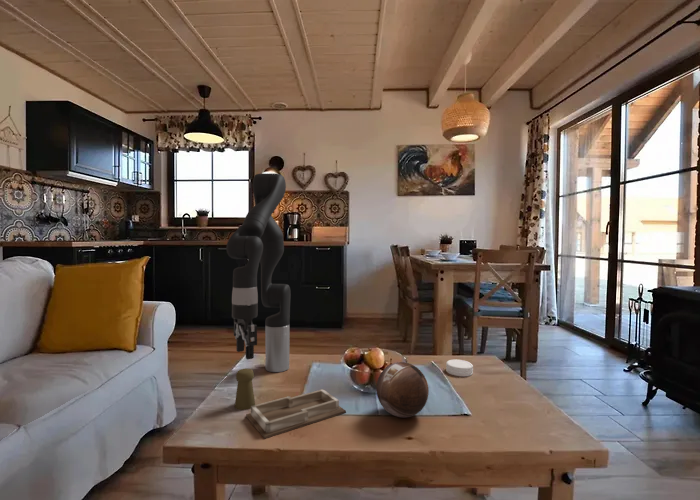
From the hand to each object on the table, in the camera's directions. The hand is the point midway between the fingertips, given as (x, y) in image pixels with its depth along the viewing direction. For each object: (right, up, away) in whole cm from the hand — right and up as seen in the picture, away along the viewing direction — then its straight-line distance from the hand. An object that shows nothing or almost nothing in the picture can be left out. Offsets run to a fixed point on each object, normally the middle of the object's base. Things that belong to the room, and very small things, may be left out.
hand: (244, 354), depth 110 cm
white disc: (+74, -16, +30) cm, 82 cm away
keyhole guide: (+17, -16, -5) cm, 24 cm away
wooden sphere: (+47, -16, -4) cm, 50 cm away
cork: (0, -16, +1) cm, 16 cm away
